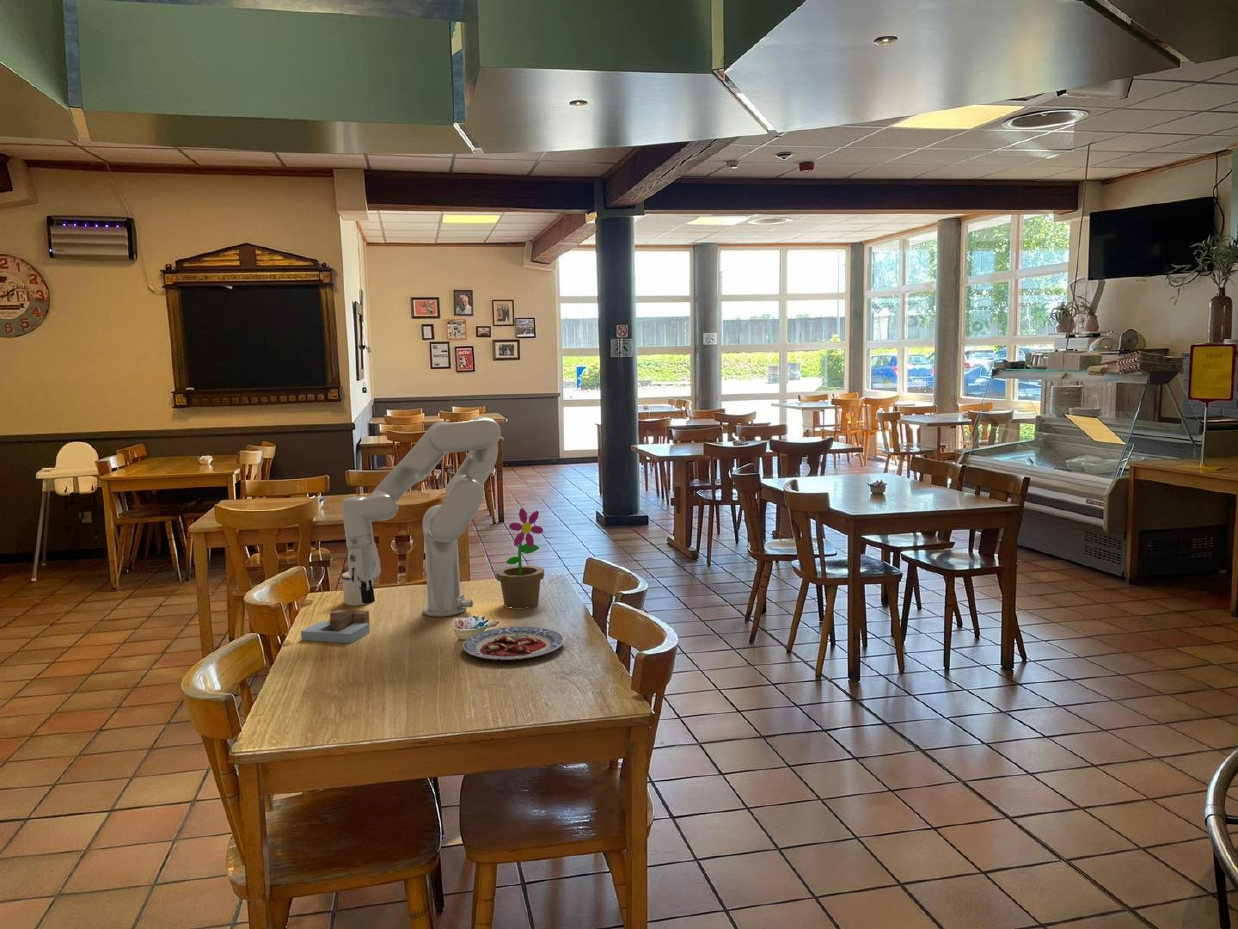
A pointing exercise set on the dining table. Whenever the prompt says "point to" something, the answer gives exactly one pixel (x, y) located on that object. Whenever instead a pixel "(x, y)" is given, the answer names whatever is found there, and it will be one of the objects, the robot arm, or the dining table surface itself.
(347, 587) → the teacup with lid
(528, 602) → the flowerpot
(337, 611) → the t block
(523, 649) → the ceramic plate
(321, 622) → the dock
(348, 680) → the dining table surface
